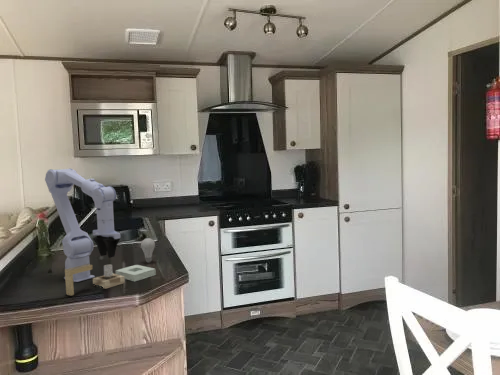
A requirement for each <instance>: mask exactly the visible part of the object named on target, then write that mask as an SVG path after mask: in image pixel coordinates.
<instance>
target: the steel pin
mask: <svg viewBox="0 0 500 375" xmlns="http://www.w3.org/2000/svg"><path fill="white" fill-rule="evenodd" d="M113 274H114V272H113V264H104V265H103V275H104V279H106V280H108V279H111V278H113Z"/></svg>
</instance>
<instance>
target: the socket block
mask: <svg viewBox="0 0 500 375" xmlns="http://www.w3.org/2000/svg"><path fill="white" fill-rule="evenodd" d="M125 280H126V279H124V276H121V275H117V274H116V273H113V278H111V279H108V280H106V279H104V274H103V275H100V276H95V277H94V278H92V285H93V284H95V285H99V286H102V287H103V288H102V289H109V288H112V287H116V286H118V285H122V284H125V283H126V282H125ZM95 285H94V286H95Z"/></svg>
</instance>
